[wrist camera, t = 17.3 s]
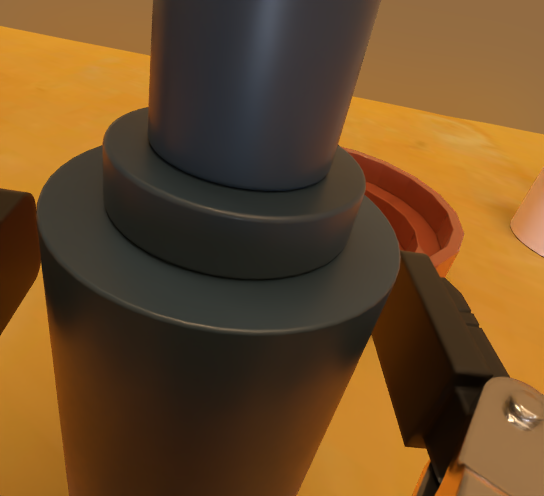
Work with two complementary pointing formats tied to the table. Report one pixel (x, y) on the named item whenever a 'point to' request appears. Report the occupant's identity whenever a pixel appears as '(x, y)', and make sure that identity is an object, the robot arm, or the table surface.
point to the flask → (216, 257)
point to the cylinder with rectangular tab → (531, 217)
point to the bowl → (413, 211)
